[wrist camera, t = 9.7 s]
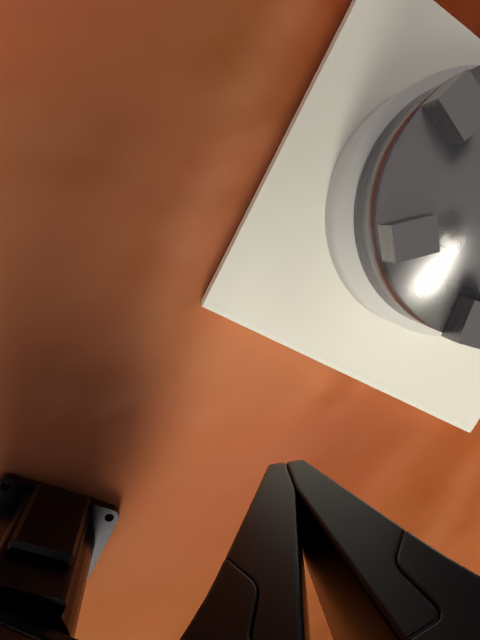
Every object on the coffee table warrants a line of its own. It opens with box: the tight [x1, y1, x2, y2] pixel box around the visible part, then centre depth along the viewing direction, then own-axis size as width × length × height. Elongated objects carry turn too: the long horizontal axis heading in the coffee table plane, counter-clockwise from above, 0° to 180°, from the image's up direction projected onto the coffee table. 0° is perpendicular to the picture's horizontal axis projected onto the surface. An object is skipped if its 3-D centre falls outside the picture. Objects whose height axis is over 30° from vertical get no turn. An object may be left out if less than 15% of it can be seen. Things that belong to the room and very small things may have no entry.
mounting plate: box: [200, 0, 480, 433], centre depth 20 cm, size 17×18×3 cm
